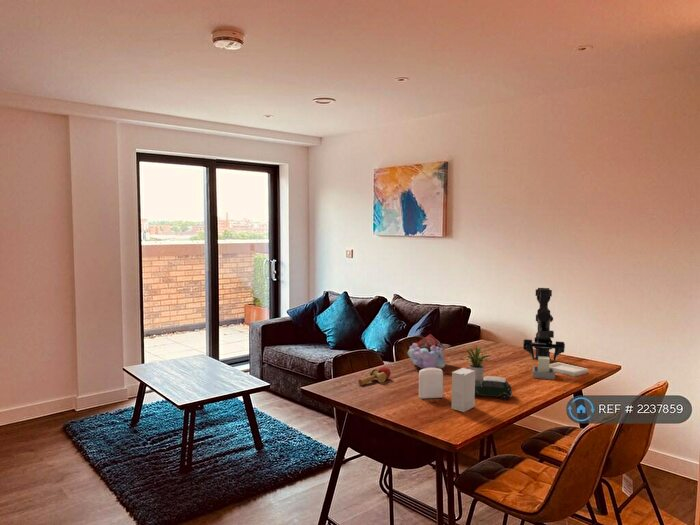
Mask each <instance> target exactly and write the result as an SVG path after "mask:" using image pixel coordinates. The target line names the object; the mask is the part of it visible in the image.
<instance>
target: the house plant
mask: <svg viewBox="0 0 700 525" xmlns="http://www.w3.org/2000/svg"><path fill="white" fill-rule="evenodd" d="M484 348H485V346H483V347H480V345H479V346H478V344H476V345H475V350H473V349H472V347H469V349H468V348H466V349H465V351H466V352H467V354H468V355H466V359H465V361H466V363H467V362H470V363H471V364H469V365H468V369H470V370H474V371H475V381H481V380H482V379H483V377H484V371H485V365H484V364H483V363H484V362H489V363H490V362H491V359H490V358H489V357H492V355H489V353H490V352H488V351H489V350H490V348H487V349H486V350H484V352H482V351H483V349H484ZM474 351H475V353H474ZM481 352H482V353H481ZM480 354H481V355H480Z"/></svg>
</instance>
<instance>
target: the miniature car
mask: <svg viewBox="0 0 700 525" xmlns="http://www.w3.org/2000/svg"><path fill="white" fill-rule="evenodd" d="M512 390H513V389H512V386H511V384H510V383H509V382H508V381H507V378H505V377H502V376H492V375H487V376H483V378H482V380H481V381H475V398H478V396H485V397H486V396H487V397H489V396H490V397H500V399H501V401H508V399H509V398H510V397H513V391H512Z"/></svg>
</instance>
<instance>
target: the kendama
mask: <svg viewBox="0 0 700 525" xmlns="http://www.w3.org/2000/svg"><path fill="white" fill-rule="evenodd" d="M390 378H391V370H390V368H389V367H387V366H380V367H379V369H377V368H372V369H371V370H370V372H369V375H368V376H366V377H362V378H359V379H358V381H357V382H358V385H359V386H364V385H365V384H367V383H369V382H372V380H375V379H377V381H378V382H379V383H384V382H386V381H387V380H388V379H390Z"/></svg>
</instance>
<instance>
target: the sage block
mask: <svg viewBox="0 0 700 525" xmlns="http://www.w3.org/2000/svg"><path fill="white" fill-rule="evenodd" d="M550 359H551V358H550ZM550 359H549V357H544V356H538V360H537V367H538V372H549V364H551V363H550V361H551V360H550Z"/></svg>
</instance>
